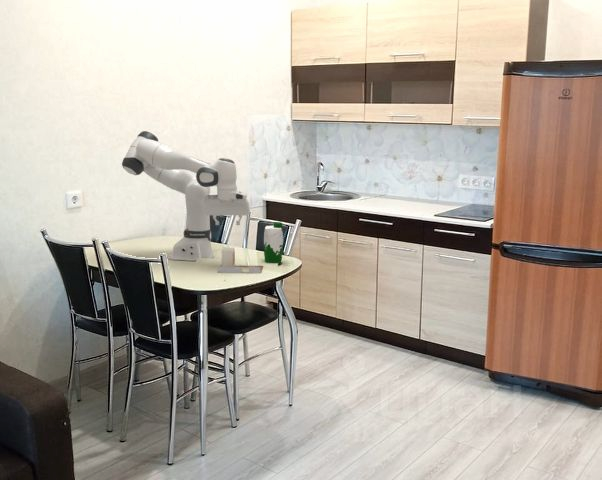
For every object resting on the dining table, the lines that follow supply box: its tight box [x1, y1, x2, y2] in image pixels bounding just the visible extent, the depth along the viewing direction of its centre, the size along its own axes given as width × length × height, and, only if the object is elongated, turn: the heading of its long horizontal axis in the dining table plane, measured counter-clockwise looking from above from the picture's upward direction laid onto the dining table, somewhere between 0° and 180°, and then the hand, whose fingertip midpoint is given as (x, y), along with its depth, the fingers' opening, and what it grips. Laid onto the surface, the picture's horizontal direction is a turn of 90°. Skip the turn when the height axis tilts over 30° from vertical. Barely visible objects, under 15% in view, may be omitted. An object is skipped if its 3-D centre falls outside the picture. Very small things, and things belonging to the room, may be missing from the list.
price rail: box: [217, 266, 261, 274], centre depth 284 cm, size 19×1×2 cm, turn 89°
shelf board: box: [216, 264, 264, 274], centre depth 291 cm, size 20×14×1 cm
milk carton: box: [263, 221, 284, 266], centre depth 306 cm, size 9×9×20 cm
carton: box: [221, 246, 236, 267], centre depth 292 cm, size 7×5×9 cm
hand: (227, 225), depth 289 cm, fingers open, 8 cm apart
